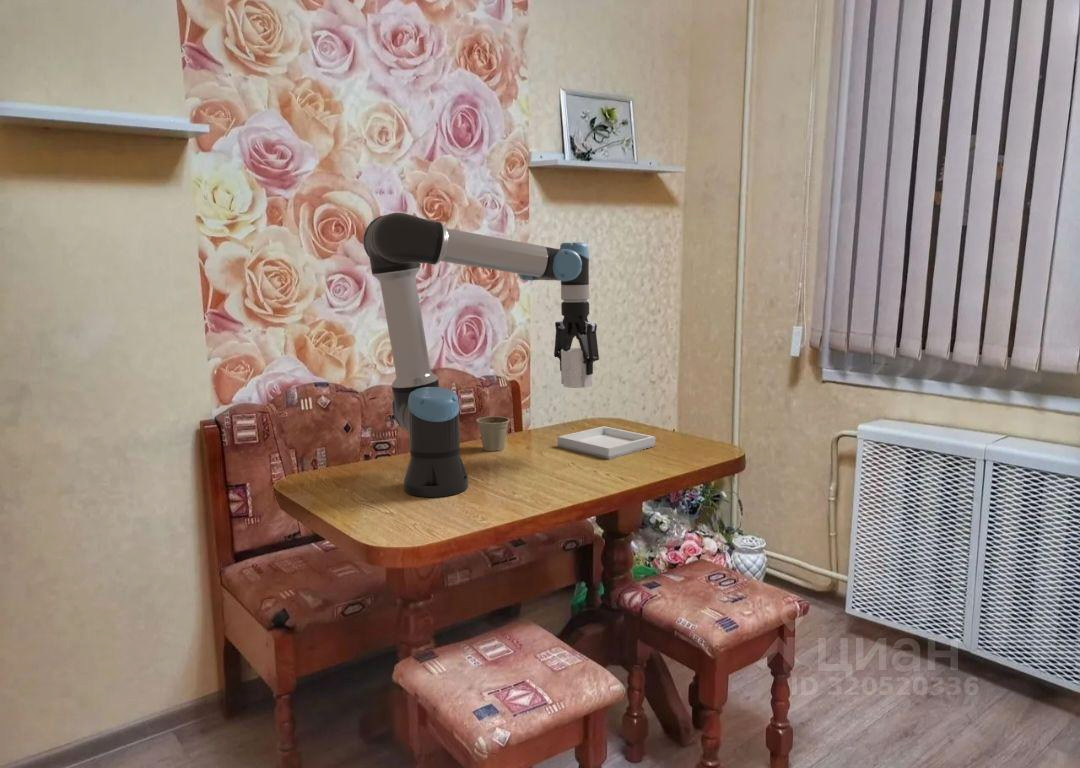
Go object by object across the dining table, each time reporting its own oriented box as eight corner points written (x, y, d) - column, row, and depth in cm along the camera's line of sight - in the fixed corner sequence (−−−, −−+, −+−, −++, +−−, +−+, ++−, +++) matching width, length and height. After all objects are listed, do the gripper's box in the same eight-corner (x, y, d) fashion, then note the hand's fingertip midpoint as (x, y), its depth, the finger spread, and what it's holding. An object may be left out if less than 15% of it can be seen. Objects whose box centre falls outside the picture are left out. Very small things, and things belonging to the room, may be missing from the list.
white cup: (575, 389, 198) (575, 352, 196) (555, 386, 204) (554, 350, 202) (596, 385, 203) (595, 349, 202) (575, 382, 209) (575, 347, 207)
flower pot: (509, 453, 210) (508, 423, 209) (475, 453, 210) (475, 423, 209) (511, 445, 219) (510, 416, 218) (479, 445, 220) (478, 416, 218)
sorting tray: (608, 459, 202) (608, 448, 202) (557, 446, 217) (557, 436, 217) (655, 446, 216) (655, 436, 215) (604, 435, 230) (604, 426, 230)
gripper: (612, 301, 195) (613, 387, 199) (559, 299, 210) (560, 379, 214) (592, 302, 190) (593, 391, 194) (539, 300, 205) (541, 382, 209)
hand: (576, 384), depth 204 cm, fingers closed on white cup, 7 cm apart
